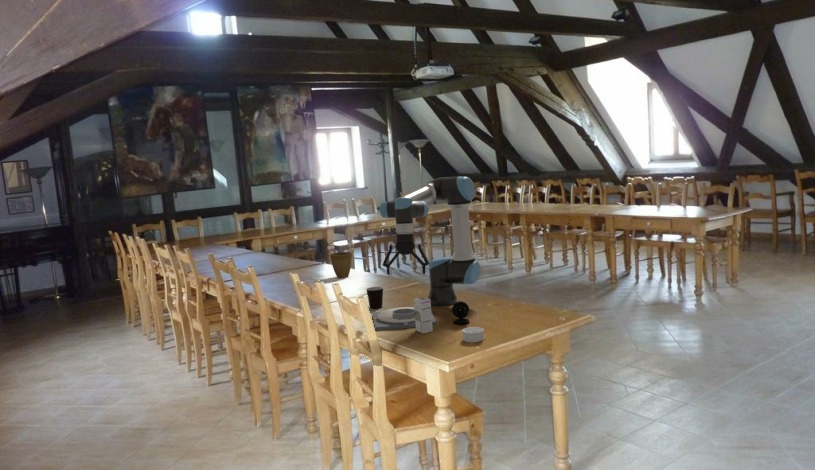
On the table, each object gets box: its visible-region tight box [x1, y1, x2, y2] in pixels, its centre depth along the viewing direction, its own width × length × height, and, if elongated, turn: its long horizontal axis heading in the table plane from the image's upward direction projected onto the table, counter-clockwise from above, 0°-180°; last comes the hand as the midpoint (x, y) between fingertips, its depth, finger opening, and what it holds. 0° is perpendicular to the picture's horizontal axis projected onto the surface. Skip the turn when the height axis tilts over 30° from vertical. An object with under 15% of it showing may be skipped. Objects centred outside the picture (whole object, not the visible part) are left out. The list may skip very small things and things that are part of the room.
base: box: [372, 311, 438, 331], centre depth 296 cm, size 28×28×2 cm
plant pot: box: [329, 251, 353, 279], centre depth 416 cm, size 15×15×16 cm
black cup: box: [366, 286, 384, 310], centre depth 326 cm, size 12×9×10 cm
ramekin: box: [461, 326, 485, 344], centre depth 258 cm, size 9×9×4 cm
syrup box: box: [412, 297, 433, 334], centre depth 274 cm, size 6×6×14 cm
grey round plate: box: [378, 306, 415, 323], centre depth 296 cm, size 24×24×4 cm
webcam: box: [451, 301, 471, 326], centre depth 284 cm, size 8×8×10 cm
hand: (406, 281), depth 275 cm, fingers open, 13 cm apart
